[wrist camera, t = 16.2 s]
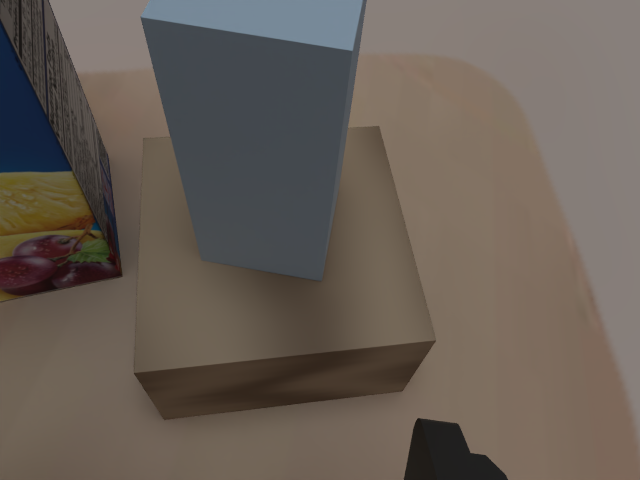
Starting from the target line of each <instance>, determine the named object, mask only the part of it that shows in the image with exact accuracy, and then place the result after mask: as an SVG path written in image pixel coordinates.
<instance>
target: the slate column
mask: <svg viewBox="0 0 640 480" xmlns="http://www.w3.org/2000/svg"><path fill="white" fill-rule="evenodd" d="M366 1H367V0H150V1H149V3H148V5H147V7H146V8H145V10H144V12H143V14H142V16H141V21H142V25H143V29H144V33H145V37H146V41H147V45H148V49H149V53H150V57H151V61H152V65H153V69H154V73H155V77H156V81H157V85H158V89H159V93H160V97H161V101H162V105H163V109H164V113H165V117H166V121H167V125H168V129H169V133H170V137H171V141H172V145H173V149H174V153H175V157H176V161H177V165H178V169H179V173H180V177H181V181H182V185H183V189H184V193H185V197H186V201H187V205H188V209H189V213H190V217H191V221H192V225H193V229H194V233H195V237H196V241H197V245H198V249H199V253H200V257H201V260H203V261H208V262H214V263H220V264H226V265H231V266H237V267H243V268H248V269H254V270H260V271H265V272H271V273H277V274H283V275H288V276H294V277H300V278H305V279H311V280H317V281H322V277H323V271H324V266H325V261H326V255H327V250H328V244H329V239H330V234H331V228H332V223H333V217H334V212H335V207H336V201H337V196H338V190H339V185H340V178H341V171H342V164H343V158H344V151H345V144H346V137H347V130H348V123H349V117H350V110H351V103H352V96H353V89H354V83H355V76H356V69H357V62H358V55H359V48H360V42H361V35H362V28H363V21H364V14H365V7H366Z"/></svg>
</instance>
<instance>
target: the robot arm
mask: <svg viewBox="0 0 640 480" xmlns="http://www.w3.org/2000/svg"><path fill="white" fill-rule="evenodd" d="M404 480H508V479H507V477H506V475H505V474H504V473H503V472H502V471H501V470H500V469H499V468H498V467H497V466H496V465H495V464H494V463H493V462H492V461H491V460H490V459H489V458H488V457H487V456H486V455H480V454H473V453H470V451H469V448H468V446H467V443H466V441H465V438H464V436H463V433H462V431H461V428H460V426H459V425H458V424H457V423H450V422H443V421H435V420H428V419H421V418H418V419H417V420H416V422H415V425H414V429H413V434H412V439H411V445H410V450H409V455H408V461H407V466H406V471H405V477H404Z"/></svg>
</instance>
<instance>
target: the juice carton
mask: <svg viewBox="0 0 640 480" xmlns="http://www.w3.org/2000/svg"><path fill="white" fill-rule="evenodd" d="M117 277H122V270H121V261H120V253H119V244H118V236H117V227H116V218H115V210H114V201H113V193H112V184H111V176H110V167H109V158H108V154H107V152H106V149H105V147H104V144H103V141H102V139H101V136H100V134H99V131H98V128H97V126H96V123H95V120H94V118H93V115H92V113H91V110H90V107H89V105H88V102H87V100H86V97H85V94H84V92H83V89H82V86H81V84H80V81H79V79H78V76H77V73H76V71H75V68H74V66H73V63H72V60H71V58H70V55H69V53H68V50H67V47H66V45H65V42H64V39H63V37H62V34H61V32H60V29H59V26H58V24H57V21H56V19H55V16H54V13H53V11H52V8H51V5H50V3H49V0H0V302H1V301H6V300H10V299H15V298H20V297H25V296H30V295H35V294H40V293H44V292H49V291H54V290H59V289H64V288H69V287H74V286H78V285H83V284H88V283H93V282H98V281H103V280H108V279H112V278H117Z"/></svg>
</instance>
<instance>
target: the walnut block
mask: <svg viewBox="0 0 640 480" xmlns="http://www.w3.org/2000/svg"><path fill="white" fill-rule="evenodd" d="M435 341H436V338H435V334H434V330H433V326H432V323H431V319H430V315H429V311H428V308H427V304H426V300H425V296H424V293H423V289H422V285H421V281H420V278H419V274H418V270H417V266H416V263H415V259H414V255H413V252H412V248H411V244H410V240H409V237H408V233H407V229H406V225H405V222H404V218H403V214H402V210H401V207H400V203H399V199H398V195H397V192H396V188H395V184H394V180H393V177H392V173H391V169H390V165H389V162H388V158H387V154H386V150H385V147H384V143H383V139H382V135H381V132H380V128H379V126H373V127H354V128H348V130H347V137H346V144H345V151H344V158H343V164H342V171H341V178H340V185H339V190H338V196H337V201H336V207H335V212H334V217H333V223H332V228H331V234H330V239H329V244H328V250H327V255H326V261H325V266H324V271H323V277H322V281H317V280H311V279H305V278H300V277H294V276H288V275H283V274H277V273H271V272H265V271H260V270H254V269H248V268H243V267H237V266H231V265H226V264H220V263H214V262H208V261H203V260H201V257H200V253H199V249H198V245H197V241H196V237H195V233H194V229H193V225H192V221H191V217H190V213H189V209H188V205H187V201H186V197H185V193H184V189H183V185H182V181H181V177H180V173H179V169H178V165H177V161H176V157H175V153H174V149H173V145H172V141H171V137H160V138H143V161H142V185H141V209H140V234H139V258H138V282H137V307H136V331H135V355H134V374H135V376H136V377H137V379H138V380H139V382H140V383H141V385H142V386H143V388H144V389H145V391H146V393H147V394H148V396H149V397H150V399H151V400H152V402H153V403H154V405H155V406H156V408H157V409H158V411H159V412H160V414H161V416H162V417H163V419H164V420H166V419H175V418H183V417H191V416H200V415H208V414H216V413H225V412H233V411H241V410H250V409H258V408H266V407H275V406H283V405H291V404H300V403H308V402H316V401H325V400H333V399H341V398H350V397H358V396H366V395H375V394H383V393H391V392H399V391H403V389H404V388H405V386H406V385H407V383H408V382H409V380H410V379H411V377H412V376H413V374H414V373H415V371H416V370H417V368H418V367H419V365H420V364H421V362H422V361H423V359H424V358H425V356H426V355H427V353H428V352H429V350H430V349H431V347H432V346H433V344H434V343H435Z"/></svg>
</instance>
